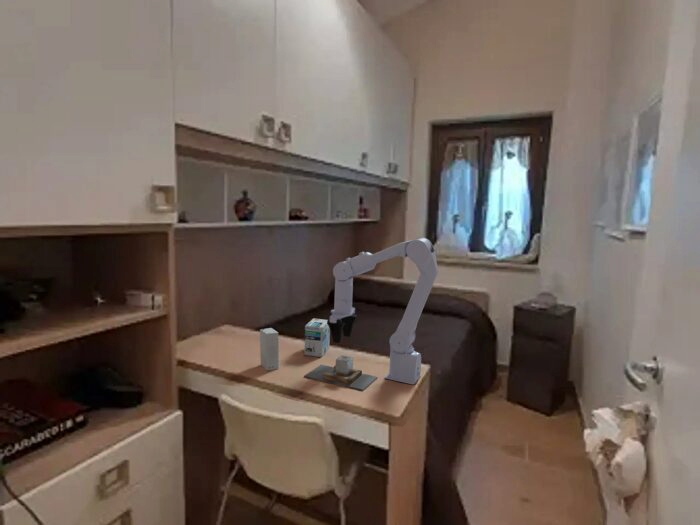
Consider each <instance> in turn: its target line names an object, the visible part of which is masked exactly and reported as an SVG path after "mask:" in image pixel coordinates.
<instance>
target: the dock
mask: <svg viewBox="0 0 700 525" xmlns="http://www.w3.org/2000/svg"><path fill="white" fill-rule="evenodd" d="M335 370H336V364H335V365H334V366H328V365H325V364H320V365H318V366H317V367H315V368H313V369H312V370H311V371H308V372H307V373H306V374H304V375H303V378H306V377H307V378H306V379H311V380H315V381H320V382H323V383H328V384H332V385H335V386H336V385H337V386H341V387H345V388H349V389H353V390H358V391H362V392H364V391H365V390H366V389H367V388H369V387H370V385H372V383H374V382H375V381H376V380H378V376H376V375H371V374H366V373H362V372H363V370H361V369H357V368H353V375H351V376H350V377H349V378H348V377H344V376H339V375H335Z"/></svg>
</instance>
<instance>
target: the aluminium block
mask: <svg viewBox="0 0 700 525" xmlns="http://www.w3.org/2000/svg"><path fill="white" fill-rule="evenodd" d="M335 365H336V370H335V375H339V376H344V377H348V378H349V377H350V376H351V375H353V369H354V357H352V356H347V355H340V356H338V357H337V358H336V359H335Z"/></svg>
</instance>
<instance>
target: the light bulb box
mask: <svg viewBox="0 0 700 525" xmlns="http://www.w3.org/2000/svg"><path fill="white" fill-rule="evenodd" d="M328 320H329V319H321V318H312V319H311V320H310V321H309V322H308V323H307V324H306V325H304V356H309V357H310V356H311V357H319V358H322V357H323V356H324V355H325V354H326V353H327V351H329V349H330V337H331V335H330V334H331V330H330V328H329V326H328V324H327V321H328Z"/></svg>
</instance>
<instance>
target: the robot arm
mask: <svg viewBox="0 0 700 525" xmlns="http://www.w3.org/2000/svg"><path fill="white" fill-rule="evenodd" d="M358 254H359V255H357V256H353V257H347V258H345V260H343V261H339V262H338V263H336V264H335V265H334V266H333V269H332V274H333V277H334V278H335V280H334V300H333V301H334V305H333V306H334V307H333V309H331V310H330V313H331V315H330V316H329V319H327V320H328V321H327V324H328V326H329V328H330V334H331V338H332V342H333V343H335V344H340V343H341V340H342V335H343V336H344V337H348V338H350V337H351V335H352V332H353V327H354V325H355V323H356V320H358V315H357V314H355V313H356V308H355V307H353V293H354V291H353V290H354V285H353V284H354V283H353V282H354V277H357V276H359V275H362V274H364V273H367V272H369V271H372V270H374V269H375V268H376V265H377V264H378V263H381V262H384V261H387V260H390V259H393V258H395V257H402V258H407V257H408V258H409V260H411V261H412V263H413V264H415V266H416V268H417V269H418V271H419V276H418V278H417V282H416V284H415V286H414V289H413V292H412V293H411V296H410V299H409V301H408V303H407V306H406V308H405V310H404V314H403V316H402V318H401V320H400V322H399V324H398V327H397V328H396V330H395V332H394V333H393V334H392V335H391V336H390V337H389V341H388V342H389V346H390V350H389V351H390V352H389V369H388V370H389V372H388V373H387V374H386V375H385V376H384V379H385V380H386V379H387V380H391V381H395V382H399V383H400V382H401V383H405V384H409V385H415V383H417V381H418V380H419V379H420V378H421V376H422V375H421V369H422V368H421V367H422V354H421V353H420V352H417V351H415V348H414V346H413V343H414V342H415V340H416V328H417V327H418V326H417V325H418V322H419V320H420V317H421V315H422V312H423V309H424V308H425V305H426V302H427V300H428V298H429V295H430V293H431V291H432V288H433V285H434V283H435V280H436V278H437V275H438V274H439V268H438V260H437V256H436V248H435V247H434V245H433V244H432V242H431V240H429V239H428V238H426V237H418V238H417V239H411V240H407V241H403V242H399V243H396V244H394V245H392V246H390V247H386V248H385V249H382V250H380V251H378V252H375V253H371V252H368V251H366V252H365V251H361V252H359V253H358Z"/></svg>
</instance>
